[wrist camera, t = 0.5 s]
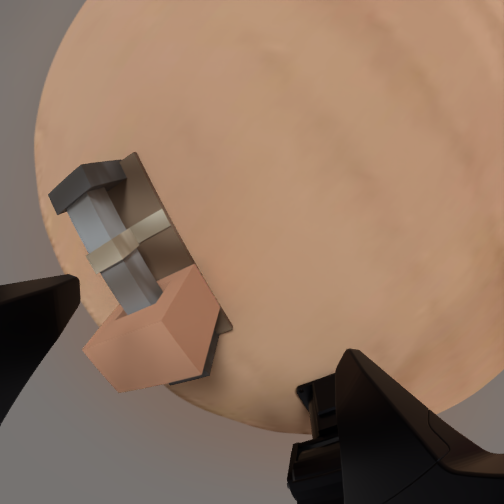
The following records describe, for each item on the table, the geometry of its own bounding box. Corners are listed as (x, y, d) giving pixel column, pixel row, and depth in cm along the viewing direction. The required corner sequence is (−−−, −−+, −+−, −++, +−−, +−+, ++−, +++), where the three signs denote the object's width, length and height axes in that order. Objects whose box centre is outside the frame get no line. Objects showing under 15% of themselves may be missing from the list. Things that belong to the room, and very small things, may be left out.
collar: (220, 306, 22) (201, 374, 14) (152, 331, 23) (118, 392, 16) (195, 263, 21) (161, 320, 13) (127, 294, 22) (81, 349, 15)
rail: (234, 327, 23) (226, 370, 18) (173, 348, 24) (156, 388, 19) (135, 149, 19) (96, 151, 14) (79, 191, 20) (37, 204, 15)
